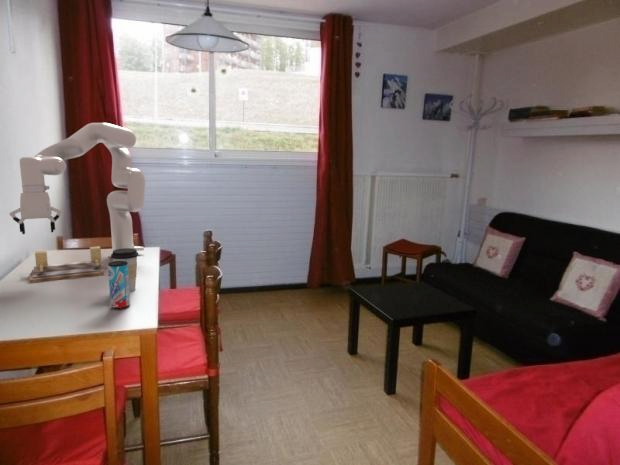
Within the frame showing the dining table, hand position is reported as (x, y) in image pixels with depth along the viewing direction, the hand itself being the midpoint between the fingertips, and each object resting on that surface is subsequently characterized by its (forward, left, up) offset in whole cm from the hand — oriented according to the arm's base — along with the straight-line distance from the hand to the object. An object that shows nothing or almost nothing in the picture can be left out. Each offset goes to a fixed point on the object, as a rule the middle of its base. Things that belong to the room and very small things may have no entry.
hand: (38, 232), depth 173 cm
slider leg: (0, -3, -16) cm, 16 cm away
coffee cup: (-28, +31, -18) cm, 46 cm away
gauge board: (-9, -2, -18) cm, 20 cm away
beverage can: (-24, +49, -18) cm, 58 cm away
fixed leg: (-20, -3, -16) cm, 26 cm away
